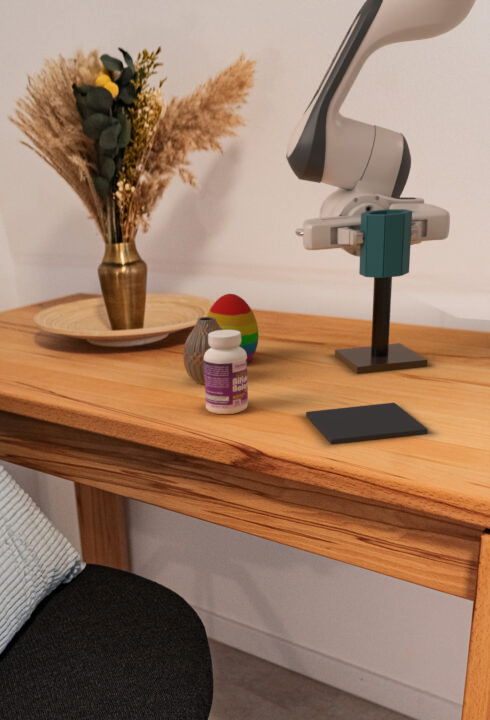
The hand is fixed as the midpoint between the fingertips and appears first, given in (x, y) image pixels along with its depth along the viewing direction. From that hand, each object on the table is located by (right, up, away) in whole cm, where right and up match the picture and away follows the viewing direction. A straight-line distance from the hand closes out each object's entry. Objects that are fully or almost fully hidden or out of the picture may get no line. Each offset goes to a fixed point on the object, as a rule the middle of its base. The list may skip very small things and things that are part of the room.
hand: (387, 236), depth 112 cm
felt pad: (-7, -27, -15) cm, 32 cm away
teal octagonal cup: (0, -4, +3) cm, 5 cm away
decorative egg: (-20, -14, +14) cm, 28 cm away
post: (+1, -15, +8) cm, 17 cm away
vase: (-24, -19, +6) cm, 31 cm away
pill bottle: (-22, -24, -6) cm, 33 cm away
